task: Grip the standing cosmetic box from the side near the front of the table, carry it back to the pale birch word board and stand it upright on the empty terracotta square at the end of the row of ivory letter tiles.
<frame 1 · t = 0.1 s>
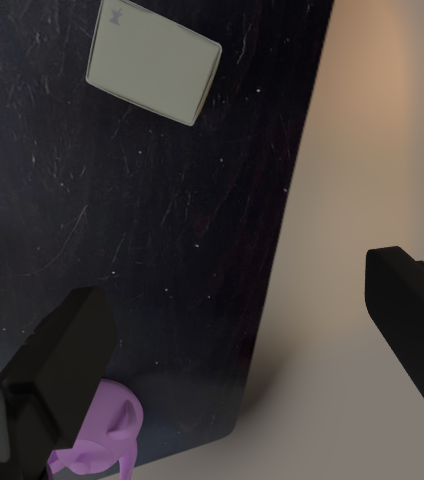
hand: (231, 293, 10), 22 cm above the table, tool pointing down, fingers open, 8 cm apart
cosmetic box: (178, 74, 27), on the table
teapot: (104, 400, 45), on the table
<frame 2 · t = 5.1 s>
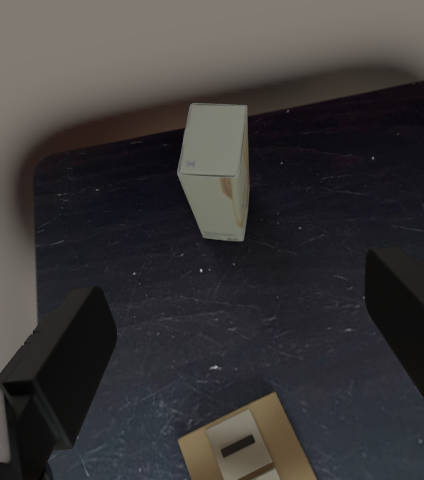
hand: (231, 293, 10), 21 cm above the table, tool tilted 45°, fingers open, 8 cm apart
cosmetic box: (226, 212, 34), on the table
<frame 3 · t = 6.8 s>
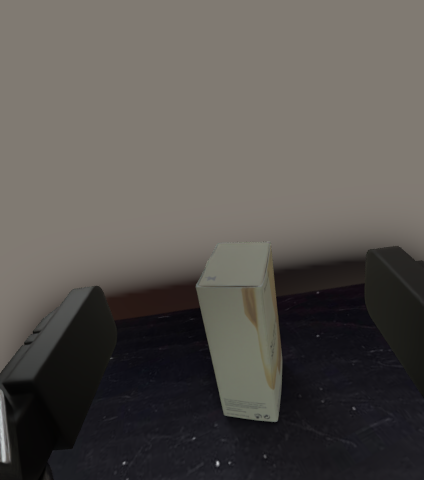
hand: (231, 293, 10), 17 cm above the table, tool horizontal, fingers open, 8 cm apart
cosmetic box: (255, 387, 27), on the table
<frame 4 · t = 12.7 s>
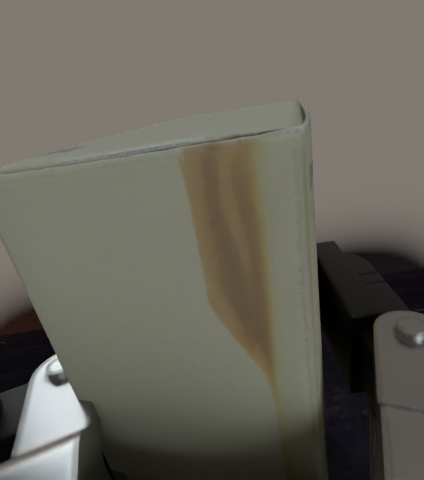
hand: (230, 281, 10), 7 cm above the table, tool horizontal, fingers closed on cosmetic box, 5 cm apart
when the fingers open (8 cm above the table, at t = 23.9 s): cosmetic box stays where it is, resting on word board.
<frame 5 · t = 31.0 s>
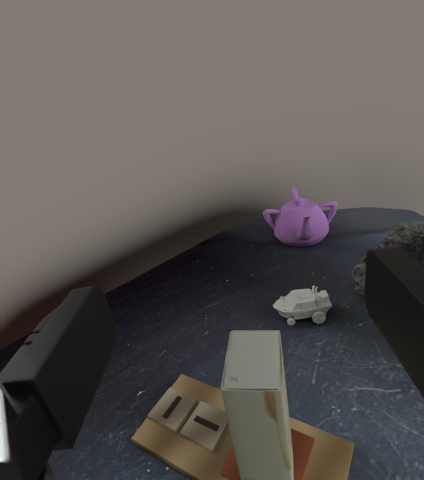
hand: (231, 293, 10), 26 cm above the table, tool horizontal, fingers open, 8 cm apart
toy car: (301, 316, 47), on the table
word board: (236, 445, 32), on the table
cosmetic box: (268, 457, 29), point 1 cm above the table, touching word board
teapot: (301, 237, 70), on the table
mineral rock: (388, 283, 50), on the table
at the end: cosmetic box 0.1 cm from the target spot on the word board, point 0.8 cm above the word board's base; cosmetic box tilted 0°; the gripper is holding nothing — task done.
